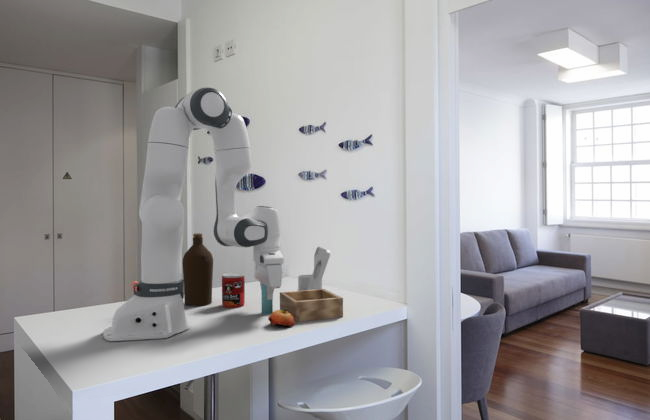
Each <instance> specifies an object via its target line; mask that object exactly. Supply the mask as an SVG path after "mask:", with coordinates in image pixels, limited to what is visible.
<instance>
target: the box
mask: <svg viewBox="0 0 650 420" xmlns="http://www.w3.org/2000/svg"><path fill="white" fill-rule="evenodd" d="M284 309H286V310H287V312H289V313H290V314H291V315H292V316H293V318H294V323H297V322H307V321H316V320H326V319H334V318H335V319H336V318H342V317H344V297H342V296H341V295H337V294H335V293H333V292H331V291H329V290H327V289H325V288H322V289H315V290H303V291H298V290H295V291H280V292H279V310H282V311H283V310H284Z"/></svg>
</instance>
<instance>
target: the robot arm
mask: <svg viewBox="0 0 650 420" xmlns="http://www.w3.org/2000/svg"><path fill="white" fill-rule="evenodd" d="M152 118H153V119H152V121H151V125H150V129H149V135H148V140H147V151H146V161H145V168H144V175H143V182H142V188H141V196H140V204H139V210H138V216H139V220H140V221H141V250H140V251H141V252H140V262H141V263H140V267H141V270H140V271H141V272H140V273H141V274H140V275H141V277H140V278H141V281H139V282H138V281H137V280H135V281H133V282H132V284H131V288H132V289H133V296H131V297H130V298H129V299H128V300H127V301H125V302H124V303H122V305H120V306H119V307H118V308H116V310H115V312H114V313H113V316H112V320H111V324H110V325H109V326H107V327H106V328H105V329H104V330H103V334H102V336H103V337H102V338H103V339H104V340H105V341H108V342H119V341H120V342H121V341H123V342H124V341H137V340H138V341H139V340H155V339H167V338H170V337H172V336H174V335H175V334H179V333H181V332H185V331H186V330H188V328H189V324H188V322H187V317H186V313H185V307H184V305H185V304H184V279H183V264H182V261H183V245H184V244H183V242H184V233H185V232H184V231H185V208H184V205H183V203H182V202H181V199H182V194H183V193H182V192H183V187H184V183H185V179H186V175H187V172H186V171H187V164H188V154H189V147H190V146H189V145H190V137H191V133H192V132H193V131H197V130H200V129H206V130H207V131H208V133H209V134H210V135H211V138H212V141H213V152H214V159H215V182H214V183H215V185H214V187H215V205H216V206H215V208H216V211H215V212H216V217H215V221H214V225H213V237H214V238H215V240H216V242H217V243H218V244H219V245H221V246H224V247H236V248H246V249H248V248H251V247H253V250H252V251H253V253H252V254H253V255H252V256H253V257H252V259H253V262H254V274H253V275H254V279H255V280H256V281H257V282H260V283H259V284H260V287H261V282H262V283H263V284H264V285H265V286H267V294H266V298H267V299H268V300H272V299H274V297H273V296H274V291H275V289H280V288H281V287H282V283H283V280H282V279H283V265H284V261H285V259H284V255H283V254H282V251H281V242H280V235H281V218H280V213H279V211H278V209H276V208H275V207H272V206H265V205H257V206H255V208H253V209H252V210H251V211H250V212H248V213H246V214H244V215H242V216H238V214H237V205H236V204H237V203H236V188H237V186H238V183H239V182H240V181H241V180H242V179H243V178H244V177H245V176H246V175H247V174H248V173H249V172H250V170H251V167H252V149H251V143H250V142H251V141H250V137H249V133H248V130H247V129H248V128H247V126H246V123H245V120H244V118H243V117H242V116H241V115H239V114H237V113H235V112H233V111H232V108H231V107H230V105H229V103H228V101H227V99H226V97H225V95H224V94H223V93H222V92H221V91H220V90H218V89H217V88H213V87H201V88H198V89H196V90H192V91H191V92H189V93H188V94H186V95H185V96H184V97H181V99H180V100H179V101H178V102H177V104H176V105H175V106H163V107H161V108H159V109H157V110H156V112H155V113H154V115H153V117H152ZM282 264H283V265H282Z"/></svg>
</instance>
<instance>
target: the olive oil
mask: <svg viewBox="0 0 650 420" xmlns="http://www.w3.org/2000/svg"><path fill="white" fill-rule="evenodd" d="M192 236H193V237H192V245H191V246H190V247H189V248H188V250H187V251H186V252H185V253H184V254H183V256H182V279H183V280H184V298H183V300H184V305H185V306H188V307H202V306H203V307H204V306H207V305H211V304H212V303H213V302H212V301H213V277H214V276H213V274H214V273H213V272H214V257H213V255H212V252H210V250H208V248H207V247H206V246H205V245H204V242H203V241H204V240H203V239H204V238H203V233H201V232H200V233H193V235H192Z"/></svg>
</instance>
